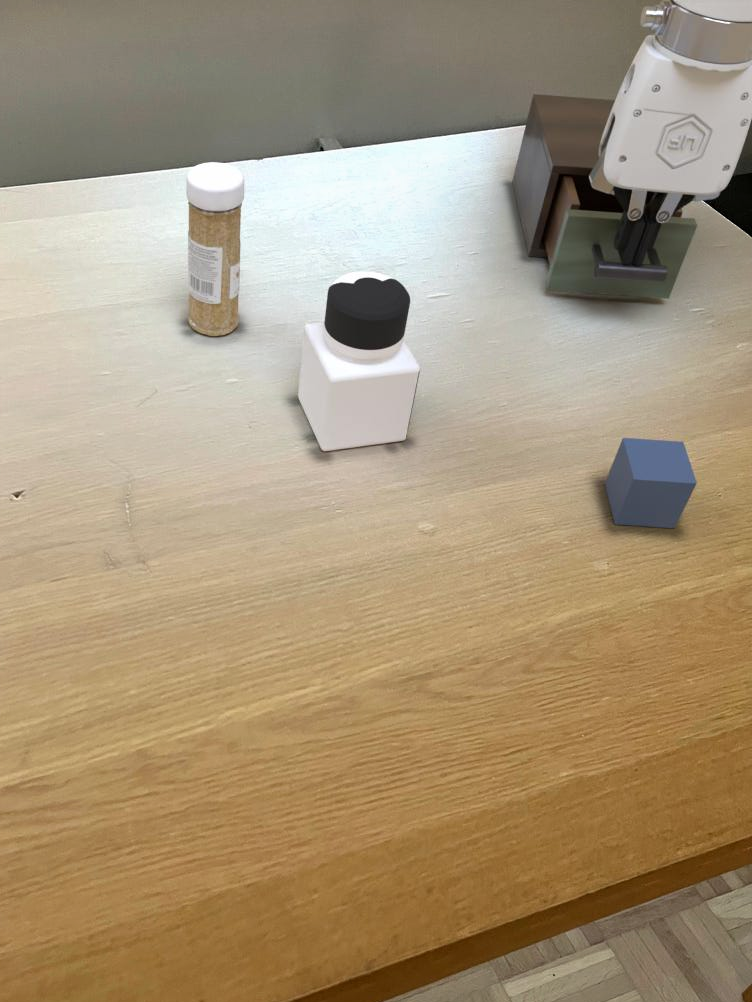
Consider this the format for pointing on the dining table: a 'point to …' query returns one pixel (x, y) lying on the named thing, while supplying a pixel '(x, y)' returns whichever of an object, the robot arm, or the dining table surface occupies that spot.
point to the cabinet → (554, 155)
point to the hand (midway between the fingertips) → (628, 256)
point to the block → (649, 483)
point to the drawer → (607, 245)
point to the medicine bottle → (359, 364)
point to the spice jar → (214, 246)
